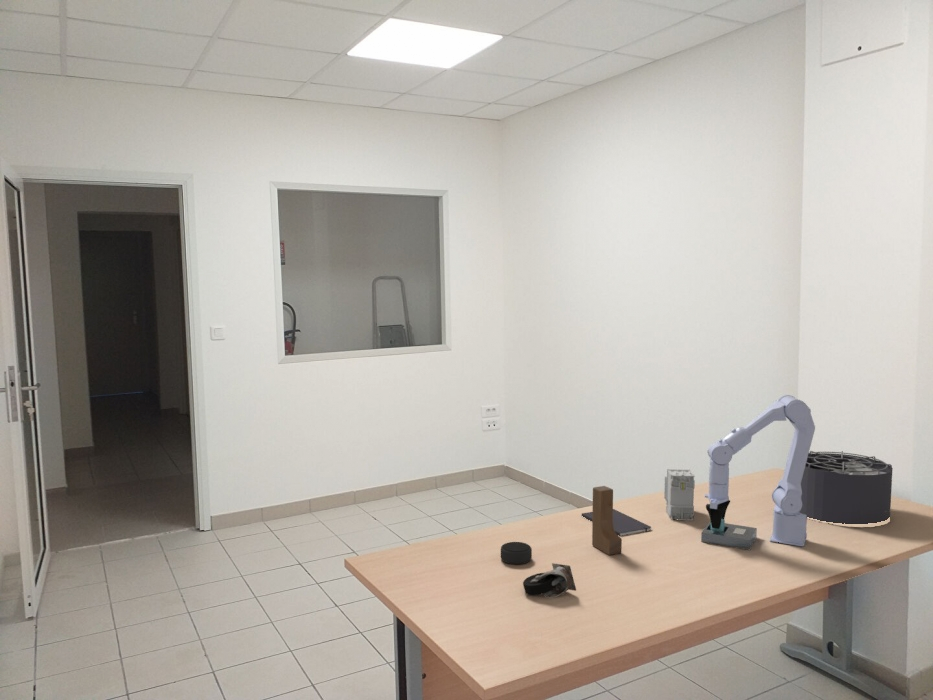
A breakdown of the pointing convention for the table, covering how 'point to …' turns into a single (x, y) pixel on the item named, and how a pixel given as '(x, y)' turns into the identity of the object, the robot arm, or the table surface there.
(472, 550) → the table surface
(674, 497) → the circuit breaker
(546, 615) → the table surface
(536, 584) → the caster wheel
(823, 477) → the ventilation fan
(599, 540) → the wooden block
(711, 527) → the barrel peg
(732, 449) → the robot arm
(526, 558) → the smart speaker
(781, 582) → the table surface
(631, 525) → the notebook
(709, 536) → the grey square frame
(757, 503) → the table surface
